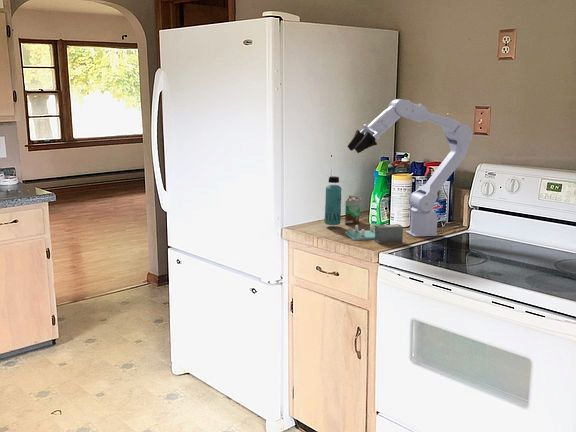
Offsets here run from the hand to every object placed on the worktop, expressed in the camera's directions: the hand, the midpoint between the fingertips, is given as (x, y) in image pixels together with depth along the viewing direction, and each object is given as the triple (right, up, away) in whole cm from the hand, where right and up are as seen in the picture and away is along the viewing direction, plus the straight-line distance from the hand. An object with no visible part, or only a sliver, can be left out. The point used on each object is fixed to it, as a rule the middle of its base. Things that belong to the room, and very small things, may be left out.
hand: (352, 149), depth 218 cm
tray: (+6, -31, +10) cm, 33 cm away
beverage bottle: (-6, -28, +23) cm, 37 cm away
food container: (+4, -26, +31) cm, 41 cm away
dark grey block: (+13, -33, +2) cm, 36 cm away
